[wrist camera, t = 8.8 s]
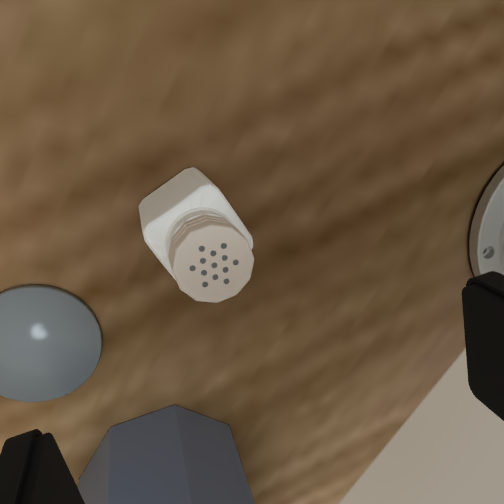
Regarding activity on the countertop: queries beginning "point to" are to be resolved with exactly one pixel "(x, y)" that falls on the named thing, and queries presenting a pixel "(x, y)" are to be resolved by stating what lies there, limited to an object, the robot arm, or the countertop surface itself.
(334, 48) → the countertop surface
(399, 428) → the countertop surface
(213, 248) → the pepper shaker
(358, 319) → the countertop surface
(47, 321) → the grey round dome
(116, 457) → the press pot
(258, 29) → the countertop surface
